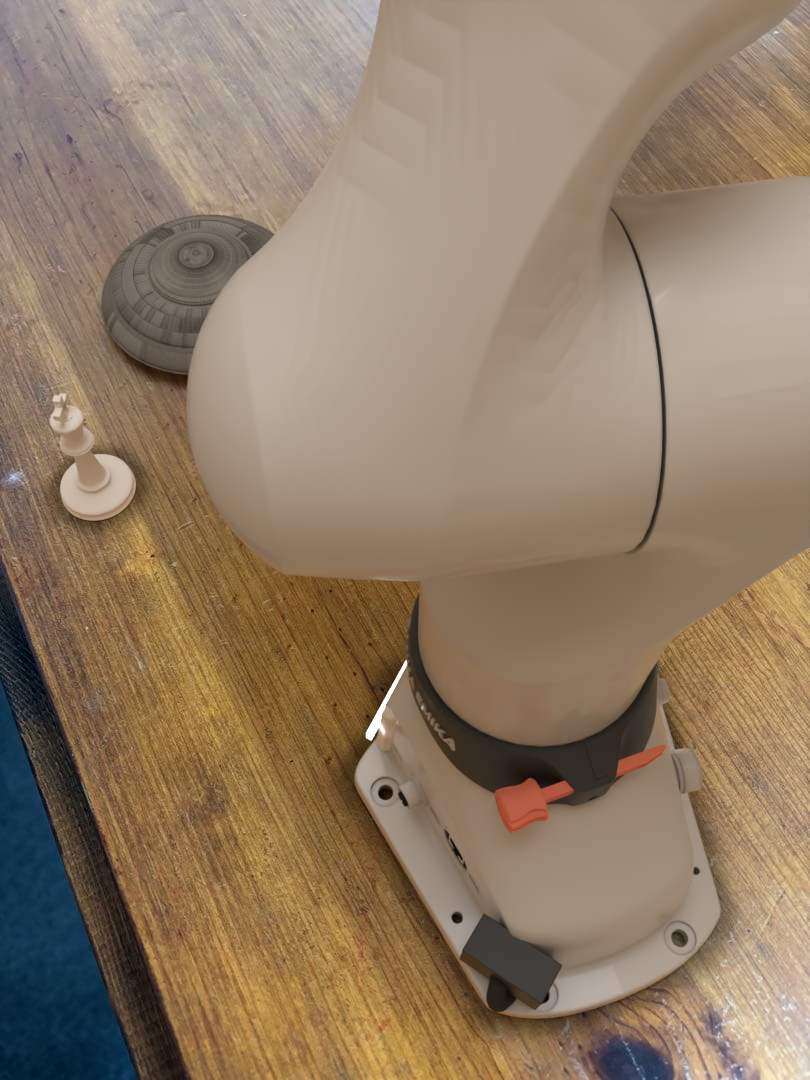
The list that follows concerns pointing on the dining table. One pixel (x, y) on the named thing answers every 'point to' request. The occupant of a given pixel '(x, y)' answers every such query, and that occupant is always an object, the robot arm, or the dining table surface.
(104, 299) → the flying saucer
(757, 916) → the dining table surface
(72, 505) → the chess piece
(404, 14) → the robot arm
